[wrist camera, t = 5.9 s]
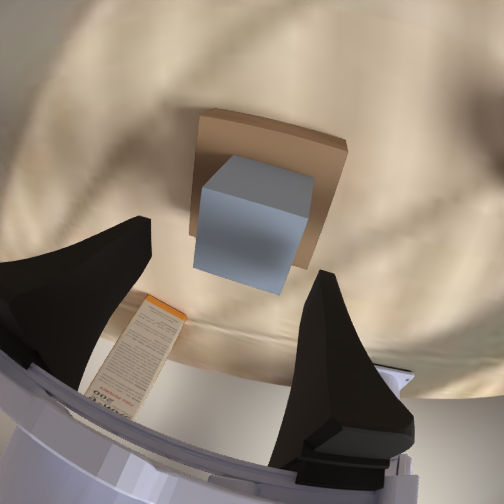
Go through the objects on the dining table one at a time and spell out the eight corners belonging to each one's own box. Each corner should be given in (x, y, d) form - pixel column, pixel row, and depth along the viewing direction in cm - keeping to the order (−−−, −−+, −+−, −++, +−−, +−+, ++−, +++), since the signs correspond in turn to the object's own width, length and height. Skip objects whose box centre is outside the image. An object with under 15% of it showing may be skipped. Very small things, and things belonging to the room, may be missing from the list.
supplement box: (146, 291, 28) (77, 399, 18) (189, 314, 29) (131, 430, 18) (136, 330, 33) (84, 418, 23) (171, 349, 34) (125, 442, 23)
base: (310, 243, 21) (306, 269, 19) (205, 213, 22) (188, 235, 20) (345, 138, 16) (348, 151, 14) (218, 107, 17) (199, 115, 15)
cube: (291, 244, 18) (279, 295, 15) (221, 222, 18) (193, 267, 15) (314, 178, 15) (308, 219, 12) (233, 154, 16) (202, 187, 12)
